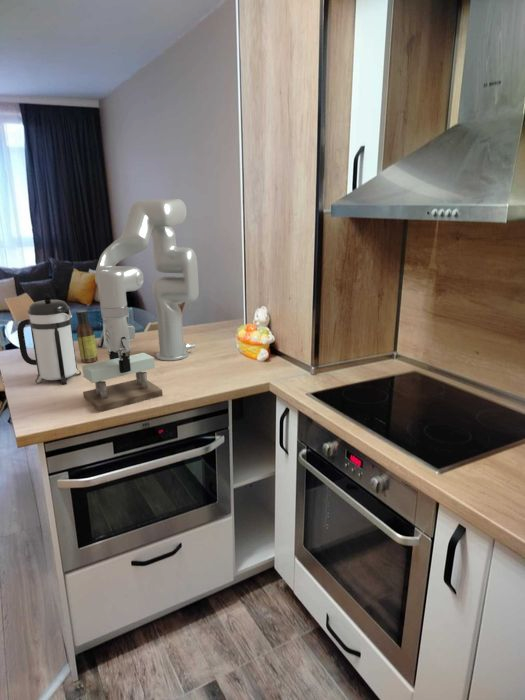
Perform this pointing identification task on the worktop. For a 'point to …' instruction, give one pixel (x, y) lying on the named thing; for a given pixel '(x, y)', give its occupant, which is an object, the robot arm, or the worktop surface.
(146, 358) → the shelf board
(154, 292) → the robot arm
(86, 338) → the sauce bottle
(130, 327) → the napkin holder
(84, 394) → the peg stand
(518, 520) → the worktop surface
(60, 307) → the coffee press
